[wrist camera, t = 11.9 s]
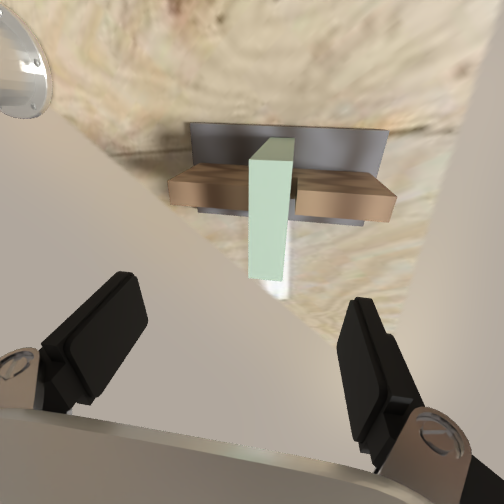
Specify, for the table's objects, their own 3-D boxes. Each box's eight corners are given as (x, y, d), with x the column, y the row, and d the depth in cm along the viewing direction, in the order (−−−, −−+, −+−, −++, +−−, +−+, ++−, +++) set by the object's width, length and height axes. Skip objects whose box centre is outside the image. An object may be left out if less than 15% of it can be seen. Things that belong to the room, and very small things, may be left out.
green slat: (267, 213, 36) (248, 277, 22) (270, 137, 30) (248, 159, 17) (287, 214, 35) (282, 281, 21) (294, 137, 30) (293, 161, 16)
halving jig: (201, 209, 38) (168, 243, 29) (194, 122, 32) (149, 128, 23) (360, 222, 36) (384, 265, 26) (385, 129, 29) (429, 139, 20)
